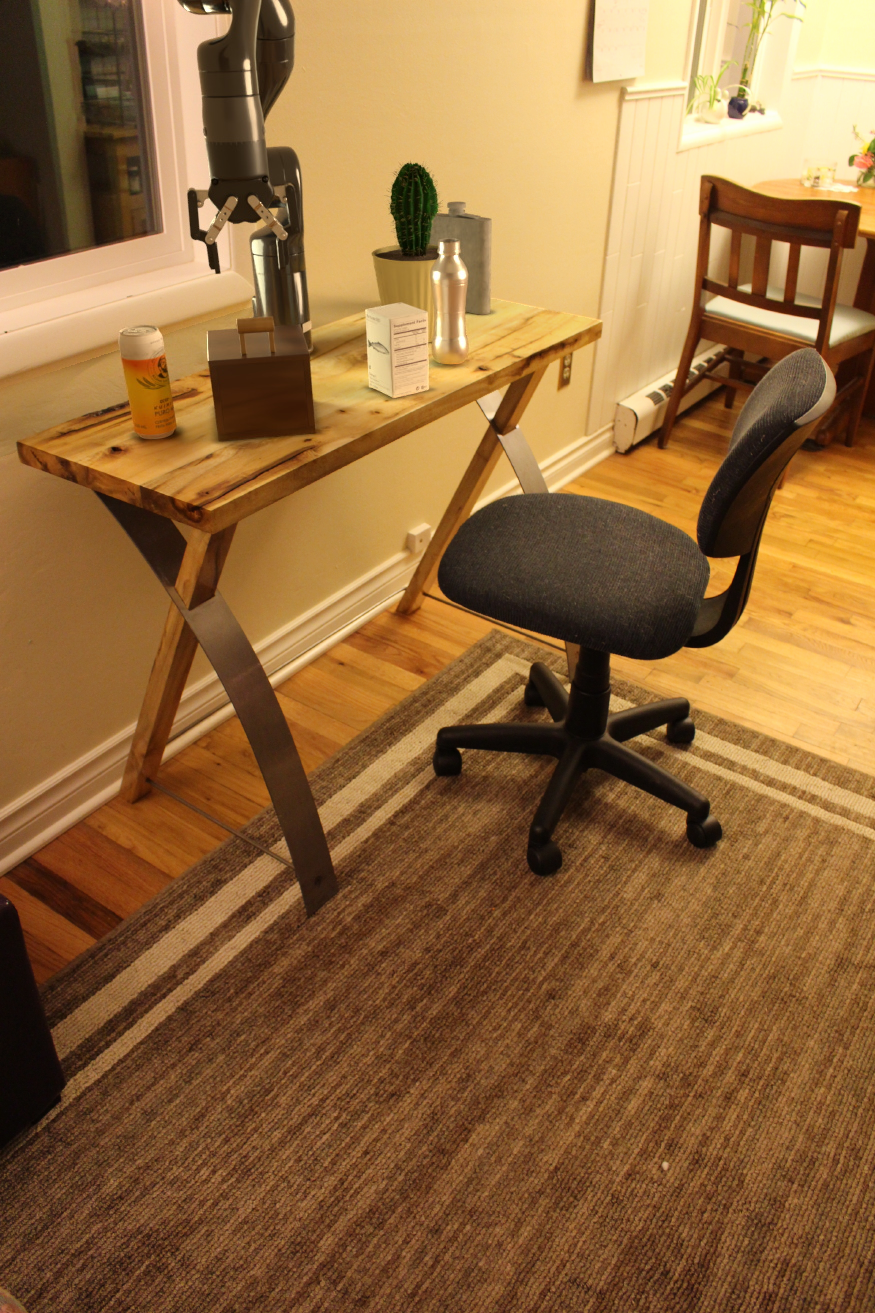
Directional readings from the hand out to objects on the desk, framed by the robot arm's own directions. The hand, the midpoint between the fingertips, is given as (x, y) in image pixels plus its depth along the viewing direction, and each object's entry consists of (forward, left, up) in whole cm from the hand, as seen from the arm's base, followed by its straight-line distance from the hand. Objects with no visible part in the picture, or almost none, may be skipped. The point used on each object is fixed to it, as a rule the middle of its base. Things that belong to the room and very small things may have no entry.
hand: (249, 270), depth 137 cm
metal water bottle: (0, +43, -23) cm, 49 cm away
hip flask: (-22, +73, -23) cm, 79 cm away
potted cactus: (-16, +53, -23) cm, 60 cm away
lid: (-4, +4, -12) cm, 13 cm away
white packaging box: (+2, +27, -23) cm, 35 cm away
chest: (-5, +4, -23) cm, 24 cm away
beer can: (-14, -10, -23) cm, 28 cm away
